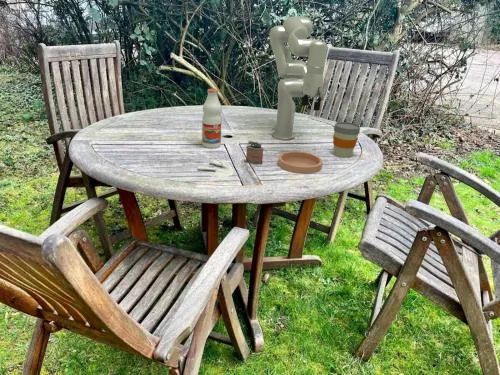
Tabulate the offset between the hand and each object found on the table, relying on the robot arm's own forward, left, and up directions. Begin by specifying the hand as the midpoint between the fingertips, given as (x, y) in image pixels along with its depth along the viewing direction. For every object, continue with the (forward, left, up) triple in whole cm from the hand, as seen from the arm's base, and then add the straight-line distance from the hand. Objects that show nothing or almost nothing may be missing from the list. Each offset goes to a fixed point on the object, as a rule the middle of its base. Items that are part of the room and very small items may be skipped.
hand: (310, 107), depth 190 cm
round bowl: (+8, -12, -24) cm, 28 cm away
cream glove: (-11, -47, -25) cm, 54 cm away
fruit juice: (-35, -31, -24) cm, 53 cm away
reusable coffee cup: (+10, +18, -24) cm, 31 cm away
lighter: (-6, -28, -24) cm, 37 cm away
